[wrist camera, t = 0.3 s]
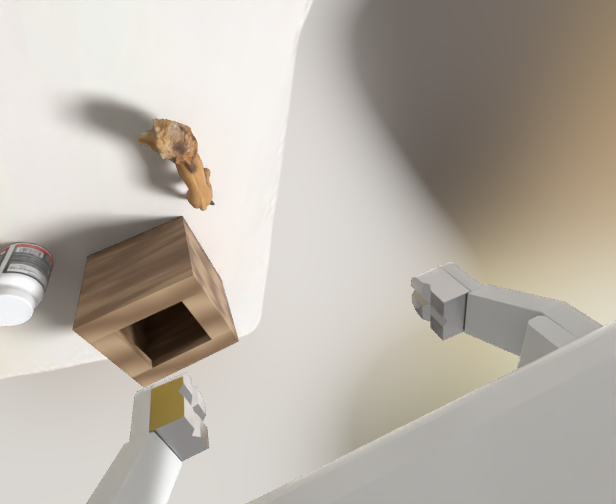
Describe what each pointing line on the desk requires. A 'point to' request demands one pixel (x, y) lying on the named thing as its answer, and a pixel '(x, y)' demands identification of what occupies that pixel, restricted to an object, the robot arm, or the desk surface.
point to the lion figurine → (181, 158)
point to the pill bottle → (22, 281)
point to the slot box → (154, 303)
